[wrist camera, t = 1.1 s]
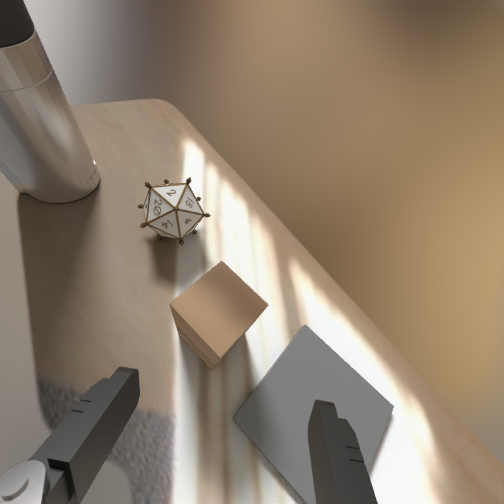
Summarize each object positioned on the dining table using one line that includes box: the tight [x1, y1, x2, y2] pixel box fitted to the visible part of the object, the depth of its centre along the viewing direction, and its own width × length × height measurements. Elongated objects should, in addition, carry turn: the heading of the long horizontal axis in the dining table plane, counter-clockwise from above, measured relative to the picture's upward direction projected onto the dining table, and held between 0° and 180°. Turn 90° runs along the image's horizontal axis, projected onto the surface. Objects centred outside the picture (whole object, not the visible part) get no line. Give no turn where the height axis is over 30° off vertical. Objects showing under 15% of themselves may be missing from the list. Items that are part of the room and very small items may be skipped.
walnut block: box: [169, 261, 268, 370], centre depth 23 cm, size 6×6×11 cm
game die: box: [138, 177, 211, 245], centre depth 31 cm, size 9×8×10 cm
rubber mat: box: [233, 325, 394, 504], centre depth 25 cm, size 13×13×1 cm
